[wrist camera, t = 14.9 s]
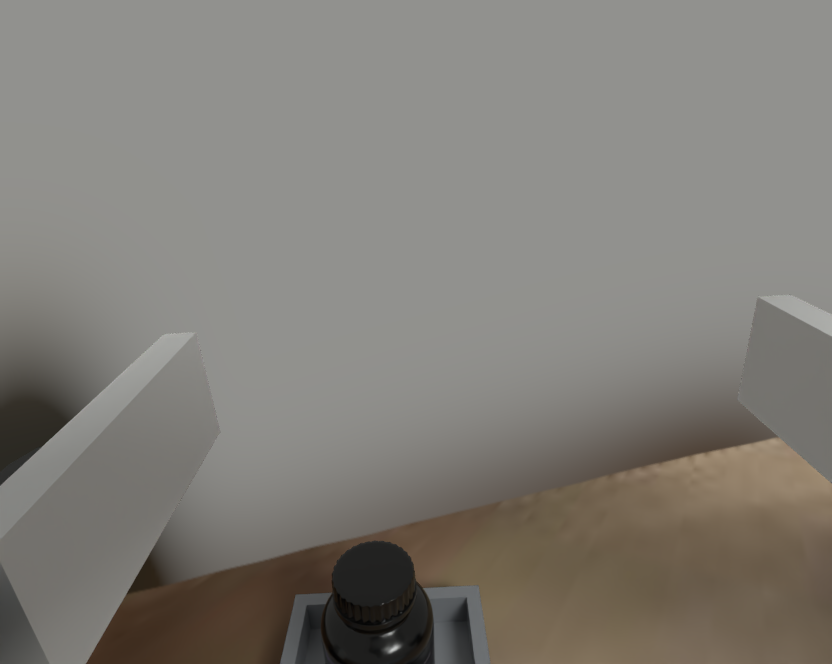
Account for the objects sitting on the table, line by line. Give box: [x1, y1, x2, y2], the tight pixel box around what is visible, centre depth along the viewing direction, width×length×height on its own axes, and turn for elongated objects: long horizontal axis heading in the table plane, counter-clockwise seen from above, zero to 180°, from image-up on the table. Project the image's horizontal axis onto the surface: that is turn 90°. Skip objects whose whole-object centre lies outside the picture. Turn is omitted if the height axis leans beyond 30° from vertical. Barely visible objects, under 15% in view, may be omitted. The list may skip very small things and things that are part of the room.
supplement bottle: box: [321, 541, 435, 664], centre depth 33 cm, size 7×7×12 cm
